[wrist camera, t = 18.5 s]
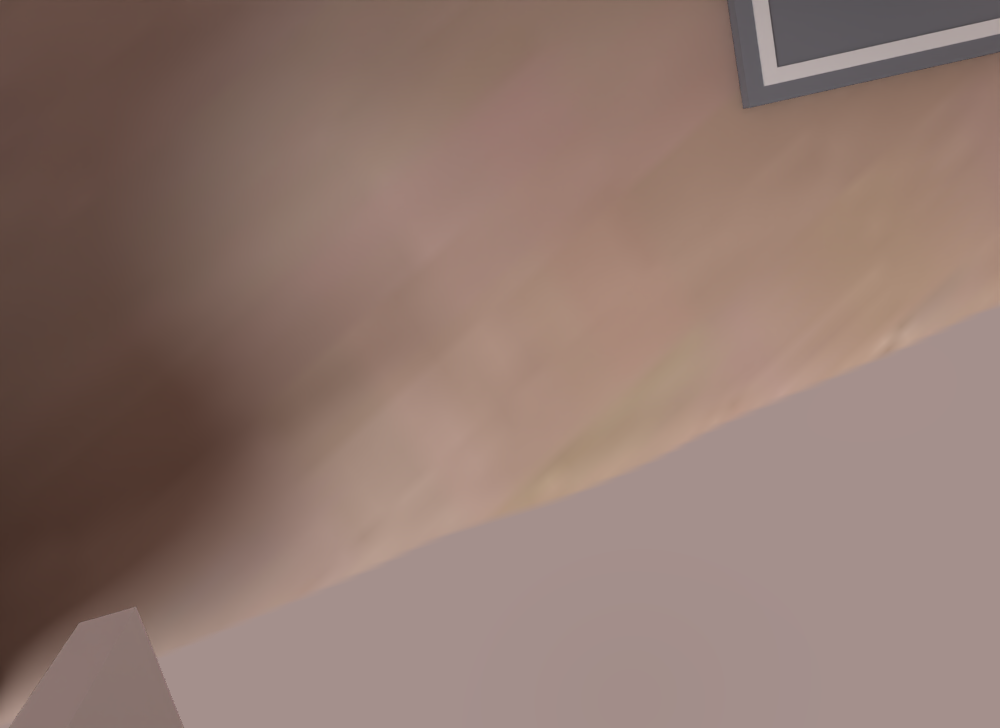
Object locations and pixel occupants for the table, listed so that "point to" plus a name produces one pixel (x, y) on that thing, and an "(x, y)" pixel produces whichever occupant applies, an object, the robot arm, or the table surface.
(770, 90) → the mat
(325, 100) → the table surface
